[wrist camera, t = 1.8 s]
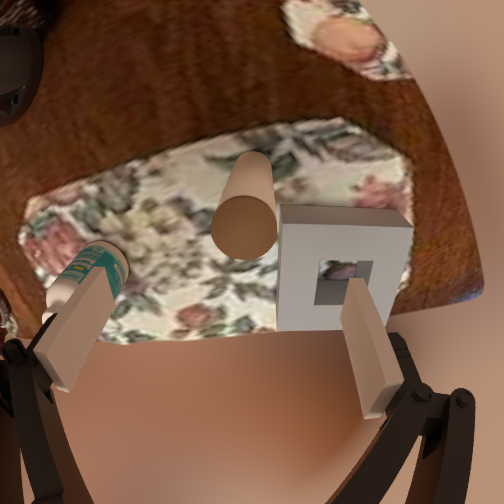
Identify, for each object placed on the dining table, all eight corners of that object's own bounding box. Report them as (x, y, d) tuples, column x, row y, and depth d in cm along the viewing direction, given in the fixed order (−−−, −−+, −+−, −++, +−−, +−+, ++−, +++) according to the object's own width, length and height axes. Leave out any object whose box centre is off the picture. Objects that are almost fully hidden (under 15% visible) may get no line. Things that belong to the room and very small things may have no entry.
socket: (280, 204, 33) (282, 223, 29) (396, 209, 33) (414, 227, 28) (275, 304, 40) (276, 330, 36) (374, 303, 40) (384, 327, 35)
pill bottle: (109, 229, 35) (54, 293, 24) (140, 274, 39) (100, 347, 27) (75, 251, 37) (22, 311, 25) (104, 291, 40) (63, 357, 29)
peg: (233, 151, 30) (208, 200, 17) (271, 151, 30) (278, 200, 17) (234, 187, 32) (212, 259, 19) (271, 187, 32) (276, 260, 19)
